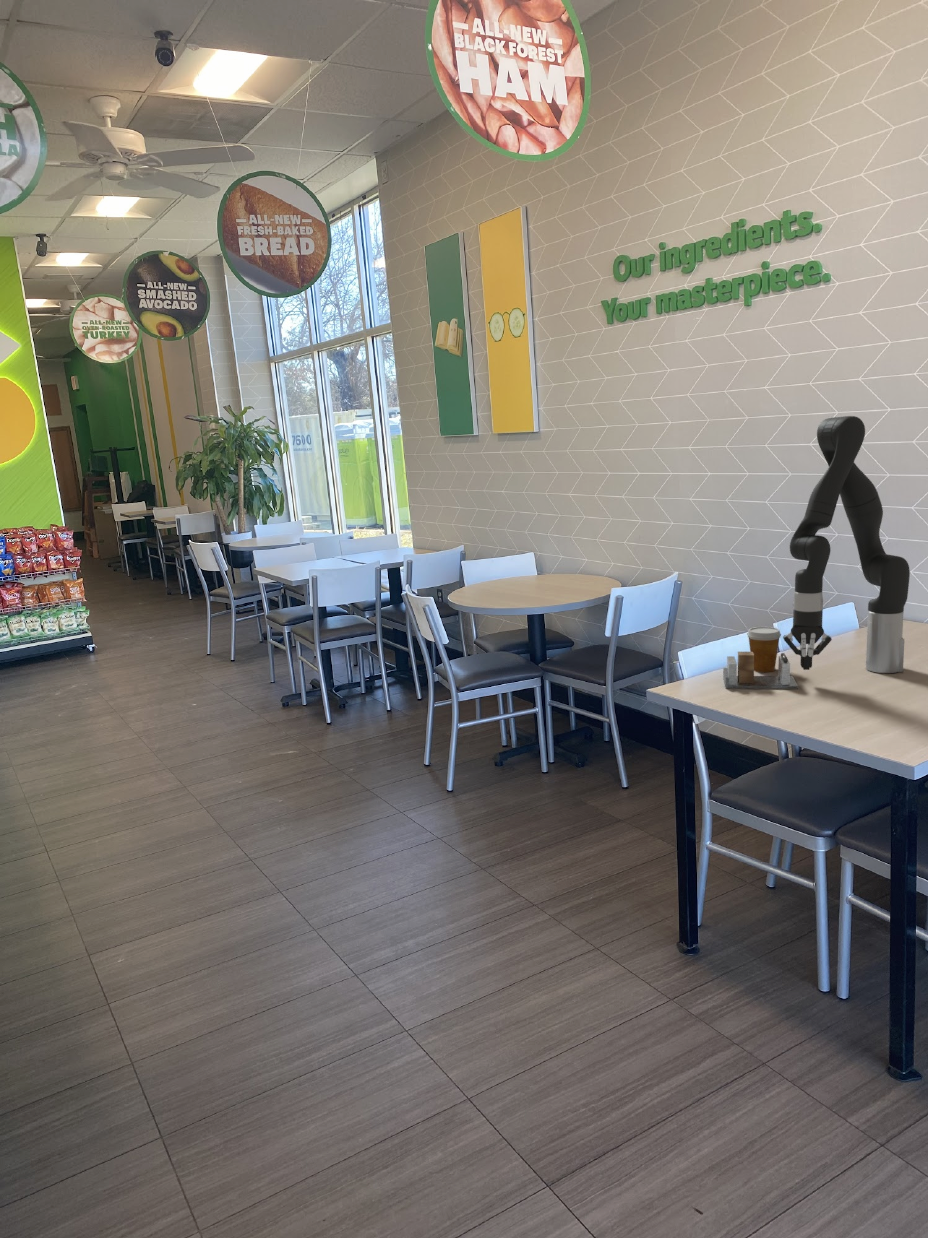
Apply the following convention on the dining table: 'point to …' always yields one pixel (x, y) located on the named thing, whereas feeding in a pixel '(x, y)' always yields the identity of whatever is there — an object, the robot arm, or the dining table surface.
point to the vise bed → (759, 681)
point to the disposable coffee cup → (764, 647)
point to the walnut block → (746, 667)
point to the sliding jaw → (784, 670)
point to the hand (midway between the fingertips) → (806, 669)
